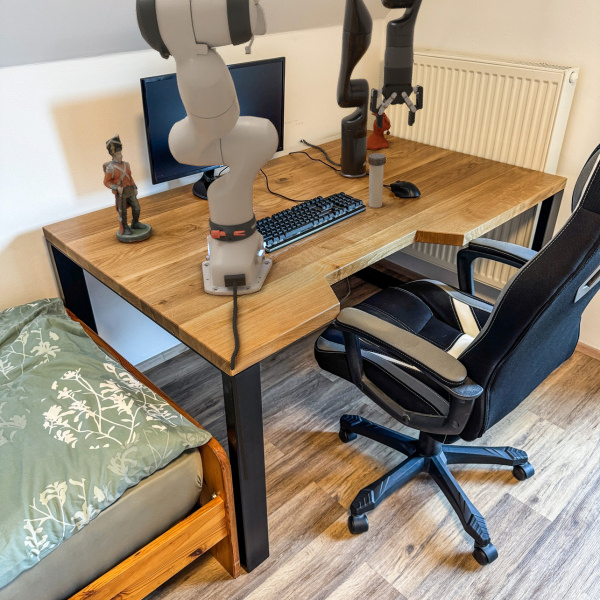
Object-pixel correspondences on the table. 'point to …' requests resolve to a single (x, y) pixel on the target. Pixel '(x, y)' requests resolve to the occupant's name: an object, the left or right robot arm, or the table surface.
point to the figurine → (124, 194)
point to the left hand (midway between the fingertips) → (231, 54)
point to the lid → (377, 159)
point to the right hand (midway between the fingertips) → (395, 126)
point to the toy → (379, 134)
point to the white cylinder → (376, 186)
